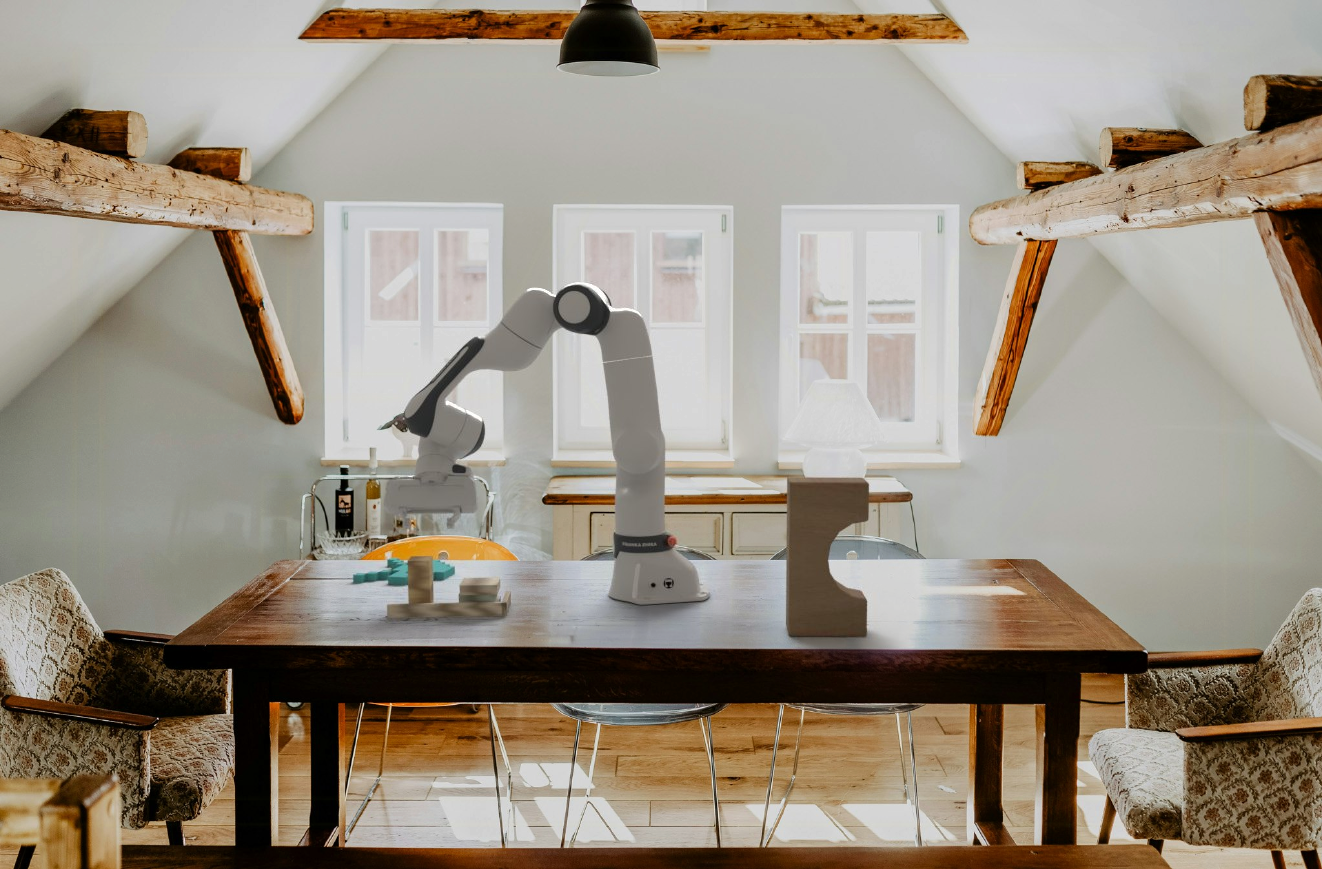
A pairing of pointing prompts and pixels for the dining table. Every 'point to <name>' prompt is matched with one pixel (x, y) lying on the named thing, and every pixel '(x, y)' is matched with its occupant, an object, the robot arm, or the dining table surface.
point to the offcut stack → (479, 590)
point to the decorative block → (822, 556)
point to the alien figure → (403, 572)
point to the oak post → (420, 579)
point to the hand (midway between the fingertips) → (428, 527)
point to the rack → (450, 609)
